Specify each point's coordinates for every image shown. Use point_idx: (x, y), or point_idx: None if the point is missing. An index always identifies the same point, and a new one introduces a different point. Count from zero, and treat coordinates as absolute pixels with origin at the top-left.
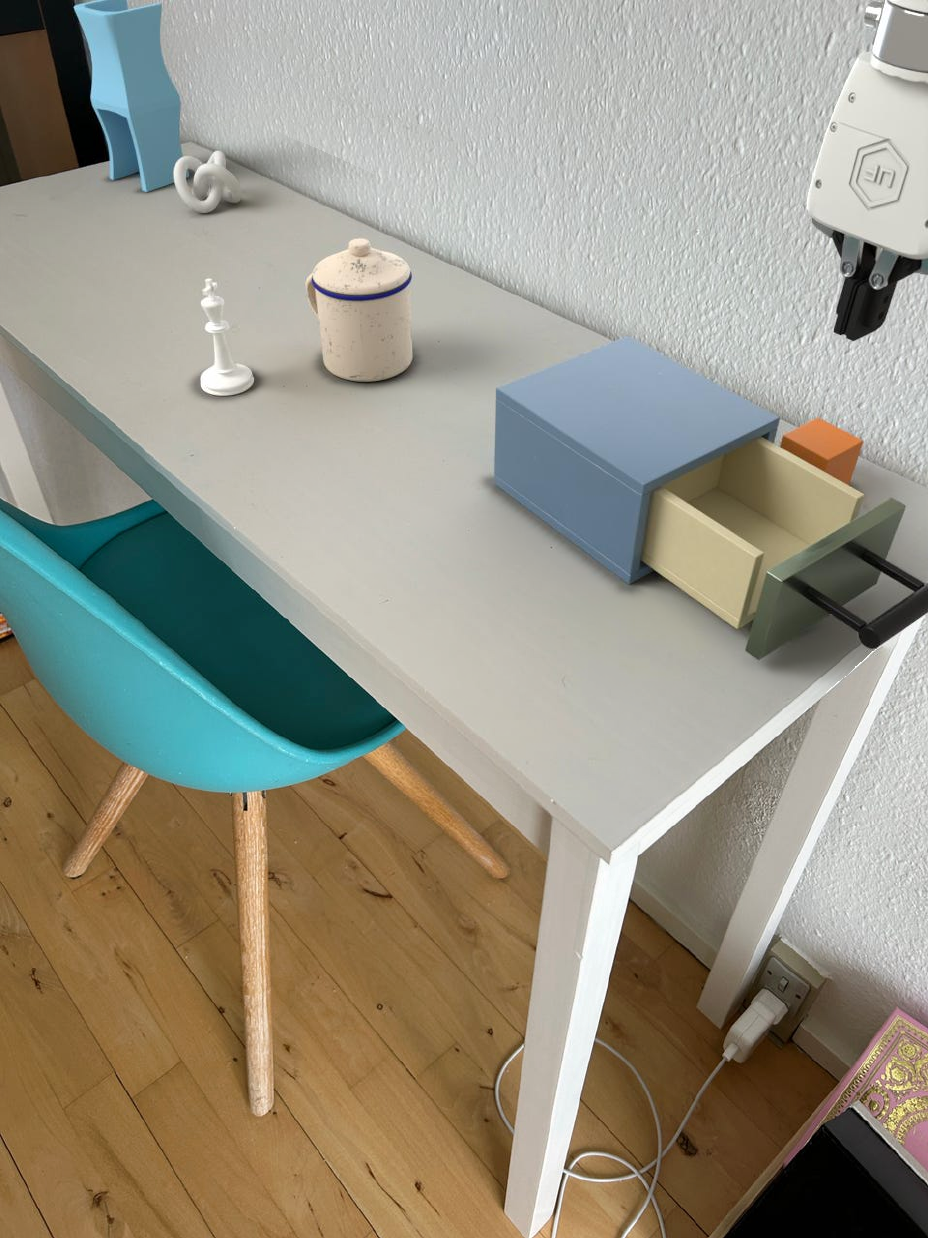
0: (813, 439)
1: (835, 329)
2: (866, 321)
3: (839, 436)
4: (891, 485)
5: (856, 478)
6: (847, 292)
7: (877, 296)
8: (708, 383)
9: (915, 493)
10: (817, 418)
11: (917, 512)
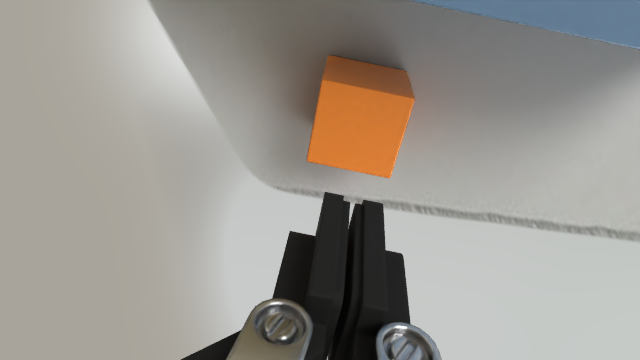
0: (368, 118)
1: (377, 204)
2: (305, 239)
3: (340, 150)
4: (276, 163)
5: None
6: (374, 276)
7: (285, 294)
8: (606, 22)
9: (246, 165)
10: (389, 174)
11: (224, 131)
